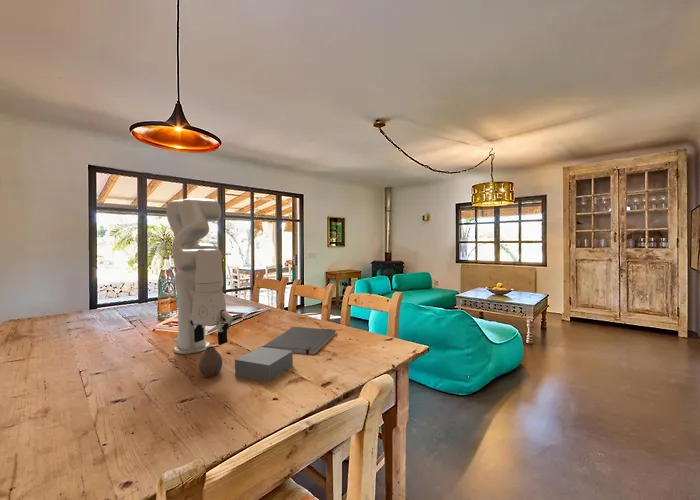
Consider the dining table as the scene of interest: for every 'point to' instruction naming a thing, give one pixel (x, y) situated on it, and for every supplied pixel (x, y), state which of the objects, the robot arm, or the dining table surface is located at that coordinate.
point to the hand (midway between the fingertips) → (210, 342)
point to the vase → (210, 362)
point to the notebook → (302, 340)
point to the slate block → (263, 363)
